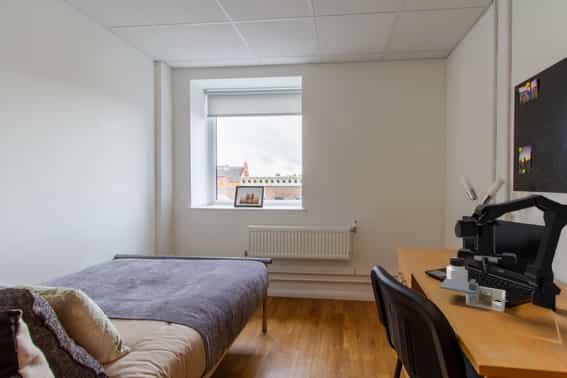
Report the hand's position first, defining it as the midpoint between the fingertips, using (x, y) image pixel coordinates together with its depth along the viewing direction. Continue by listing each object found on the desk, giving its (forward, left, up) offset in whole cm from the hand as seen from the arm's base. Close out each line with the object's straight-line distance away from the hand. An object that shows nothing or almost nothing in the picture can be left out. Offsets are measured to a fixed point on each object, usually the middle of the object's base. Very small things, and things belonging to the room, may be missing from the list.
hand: (485, 278), depth 123 cm
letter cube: (0, 0, -10) cm, 10 cm away
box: (0, -1, -11) cm, 11 cm away
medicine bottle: (+13, -22, -11) cm, 28 cm away
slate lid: (+9, -1, -5) cm, 11 cm away
